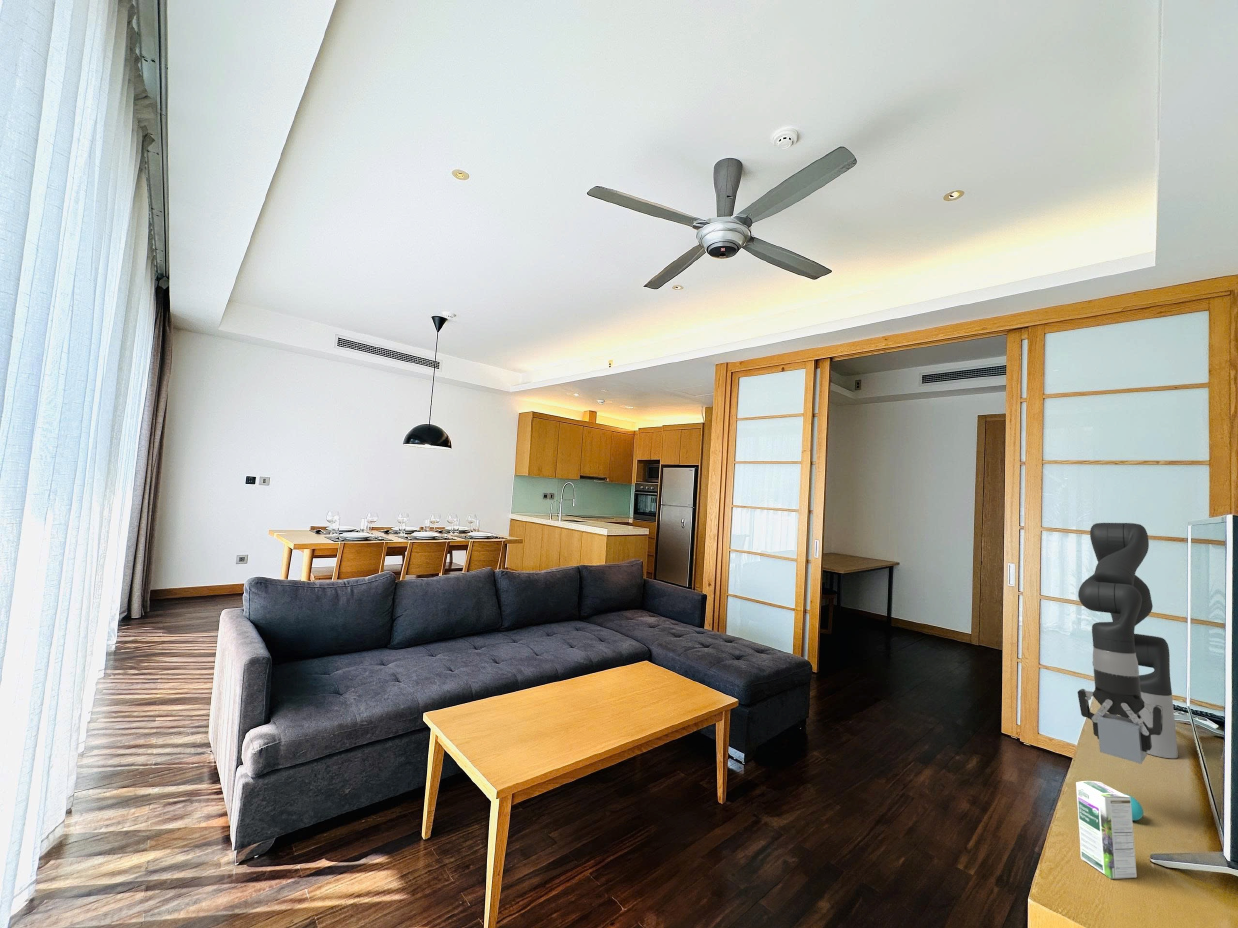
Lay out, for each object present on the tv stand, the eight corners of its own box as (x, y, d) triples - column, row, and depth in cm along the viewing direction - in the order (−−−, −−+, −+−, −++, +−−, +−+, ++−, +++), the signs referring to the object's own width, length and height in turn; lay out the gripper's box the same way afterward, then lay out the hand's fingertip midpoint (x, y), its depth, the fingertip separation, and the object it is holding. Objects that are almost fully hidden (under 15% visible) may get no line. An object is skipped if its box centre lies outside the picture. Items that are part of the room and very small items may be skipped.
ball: (1110, 817, 111) (1114, 805, 114) (1142, 829, 107) (1146, 816, 110) (1107, 796, 111) (1112, 784, 114) (1139, 807, 107) (1143, 794, 110)
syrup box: (1079, 858, 97) (1073, 780, 98) (1106, 857, 97) (1100, 779, 99) (1110, 879, 91) (1103, 796, 92) (1139, 878, 91) (1132, 795, 93)
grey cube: (1106, 744, 117) (1103, 711, 117) (1146, 755, 111) (1143, 721, 112) (1100, 751, 113) (1097, 718, 114) (1141, 763, 107) (1138, 728, 108)
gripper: (1163, 675, 110) (1171, 752, 109) (1078, 659, 122) (1083, 729, 120) (1158, 681, 106) (1166, 762, 104) (1070, 664, 118) (1076, 737, 116)
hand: (1122, 744), depth 112 cm, fingers closed on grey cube, 6 cm apart
